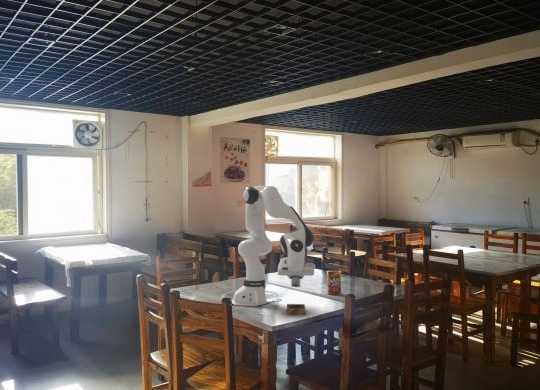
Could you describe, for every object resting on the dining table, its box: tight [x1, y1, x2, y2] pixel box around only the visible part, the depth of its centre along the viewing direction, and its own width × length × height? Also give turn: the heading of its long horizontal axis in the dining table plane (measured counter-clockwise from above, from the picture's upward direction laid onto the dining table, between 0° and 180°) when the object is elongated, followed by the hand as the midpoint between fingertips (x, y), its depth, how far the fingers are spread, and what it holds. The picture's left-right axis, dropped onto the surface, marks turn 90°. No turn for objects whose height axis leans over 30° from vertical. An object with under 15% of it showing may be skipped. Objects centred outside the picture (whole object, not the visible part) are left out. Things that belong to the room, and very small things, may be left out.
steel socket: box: [290, 276, 301, 288], centre depth 262 cm, size 5×5×8 cm
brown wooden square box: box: [286, 303, 306, 316], centre depth 262 cm, size 10×10×4 cm
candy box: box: [326, 270, 342, 295], centre depth 308 cm, size 9×4×15 cm, turn 93°
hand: (295, 277), depth 263 cm, fingers closed on steel socket, 5 cm apart
